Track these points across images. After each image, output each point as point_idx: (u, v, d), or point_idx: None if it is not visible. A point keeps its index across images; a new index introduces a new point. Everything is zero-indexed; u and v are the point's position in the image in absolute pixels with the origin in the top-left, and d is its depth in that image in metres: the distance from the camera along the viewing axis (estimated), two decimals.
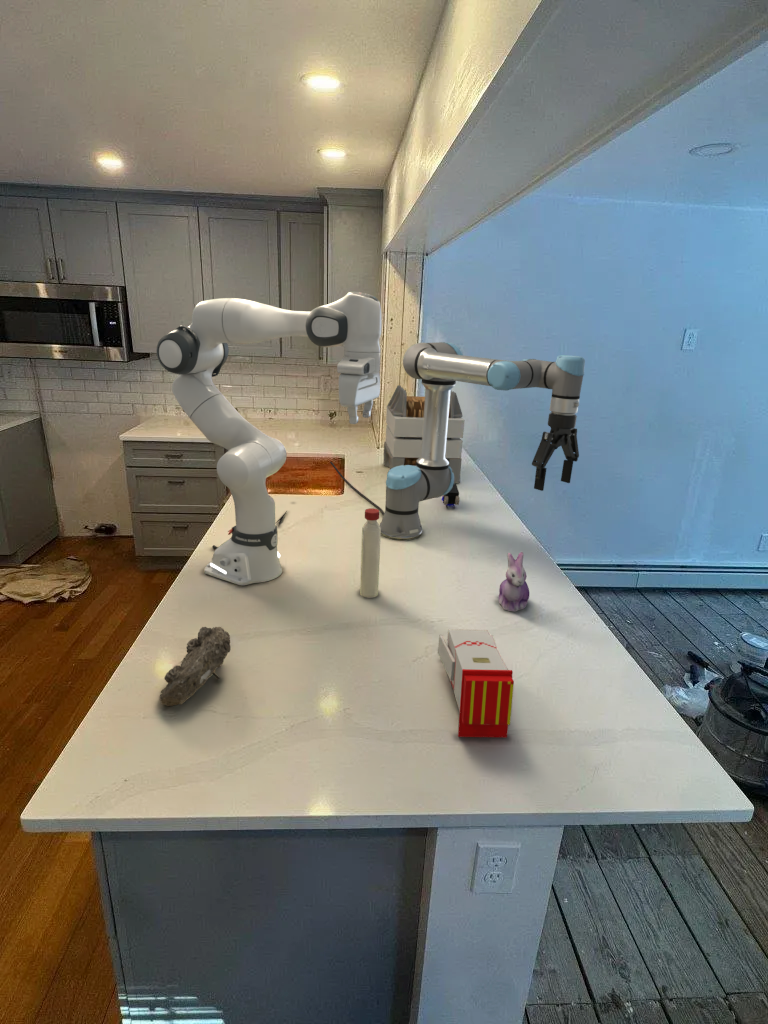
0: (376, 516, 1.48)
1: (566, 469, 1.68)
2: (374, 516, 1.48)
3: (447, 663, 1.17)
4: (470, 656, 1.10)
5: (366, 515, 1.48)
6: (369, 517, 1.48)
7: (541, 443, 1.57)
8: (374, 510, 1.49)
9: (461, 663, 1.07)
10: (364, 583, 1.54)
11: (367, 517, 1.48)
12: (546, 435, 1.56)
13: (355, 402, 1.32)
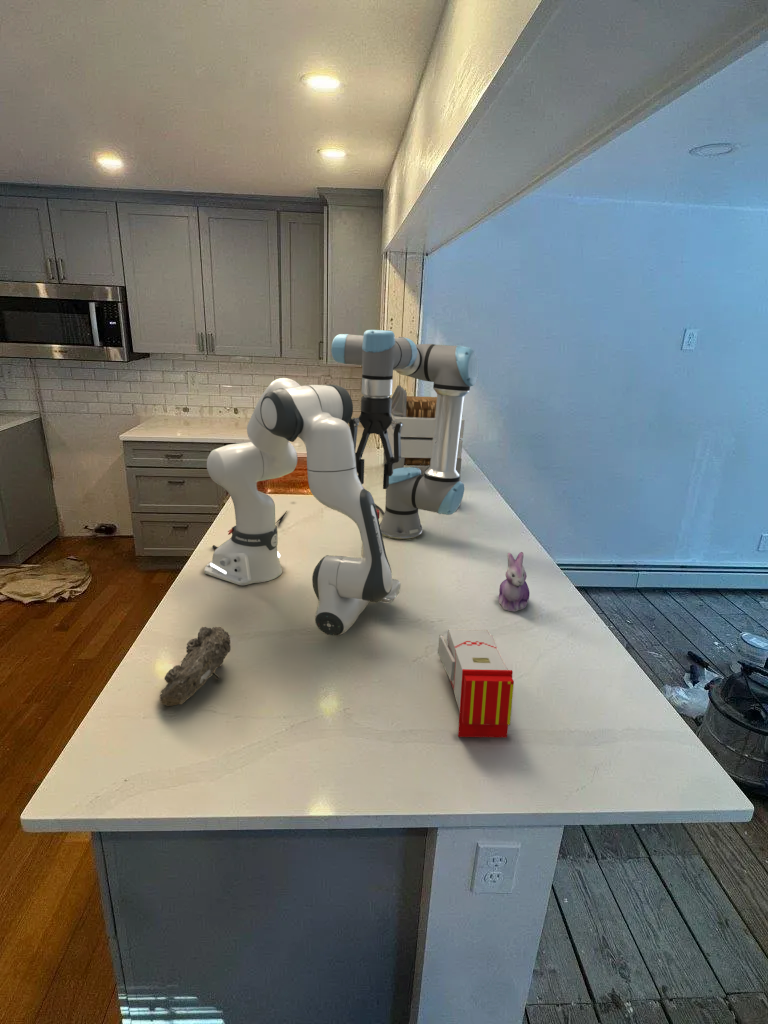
0: None
1: (362, 470, 1.46)
2: None
3: (447, 663, 1.17)
4: (470, 656, 1.10)
5: None
6: None
7: (398, 437, 1.40)
8: None
9: (461, 663, 1.07)
10: None
11: None
12: (401, 427, 1.40)
13: None
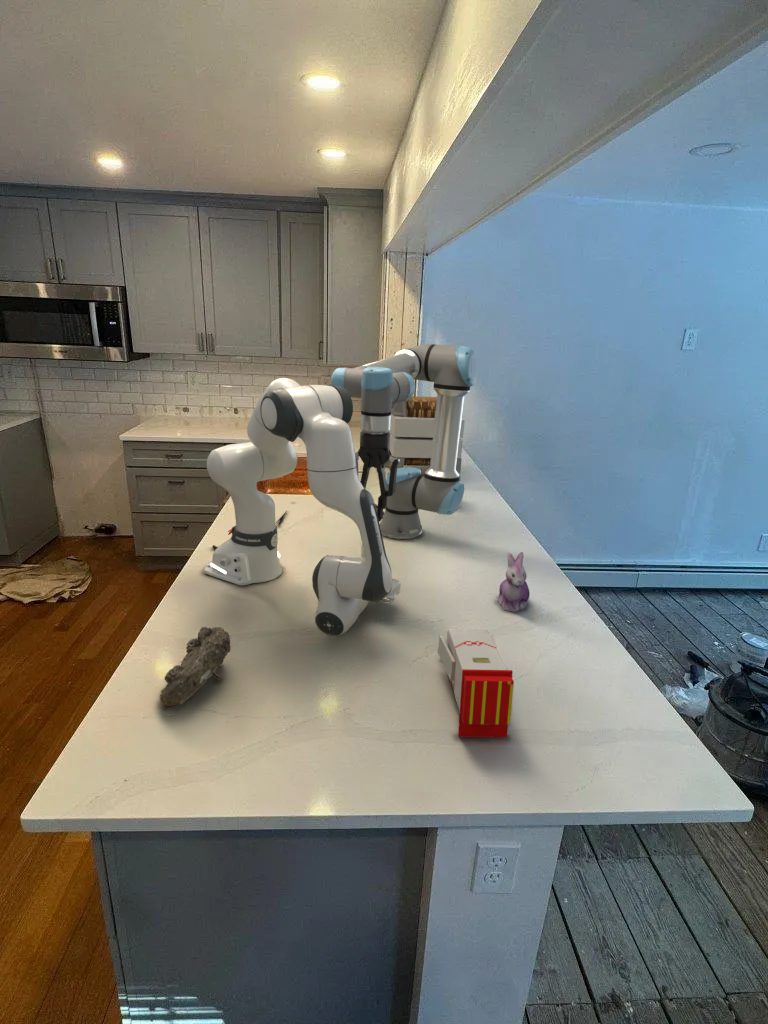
0: None
1: None
2: None
3: (447, 663, 1.17)
4: (470, 656, 1.10)
5: None
6: None
7: (395, 472, 1.43)
8: None
9: (461, 663, 1.07)
10: None
11: None
12: (398, 462, 1.43)
13: None
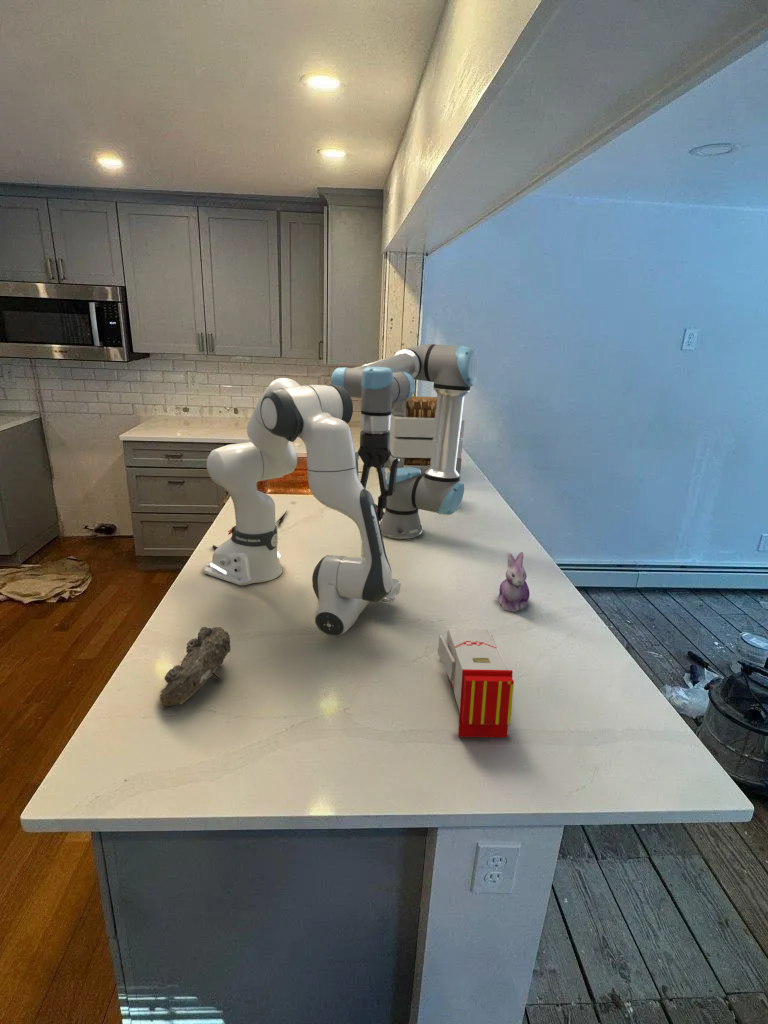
0: None
1: None
2: None
3: (447, 663, 1.17)
4: (470, 656, 1.10)
5: None
6: None
7: (395, 471, 1.43)
8: None
9: (461, 663, 1.07)
10: None
11: None
12: (398, 462, 1.43)
13: None
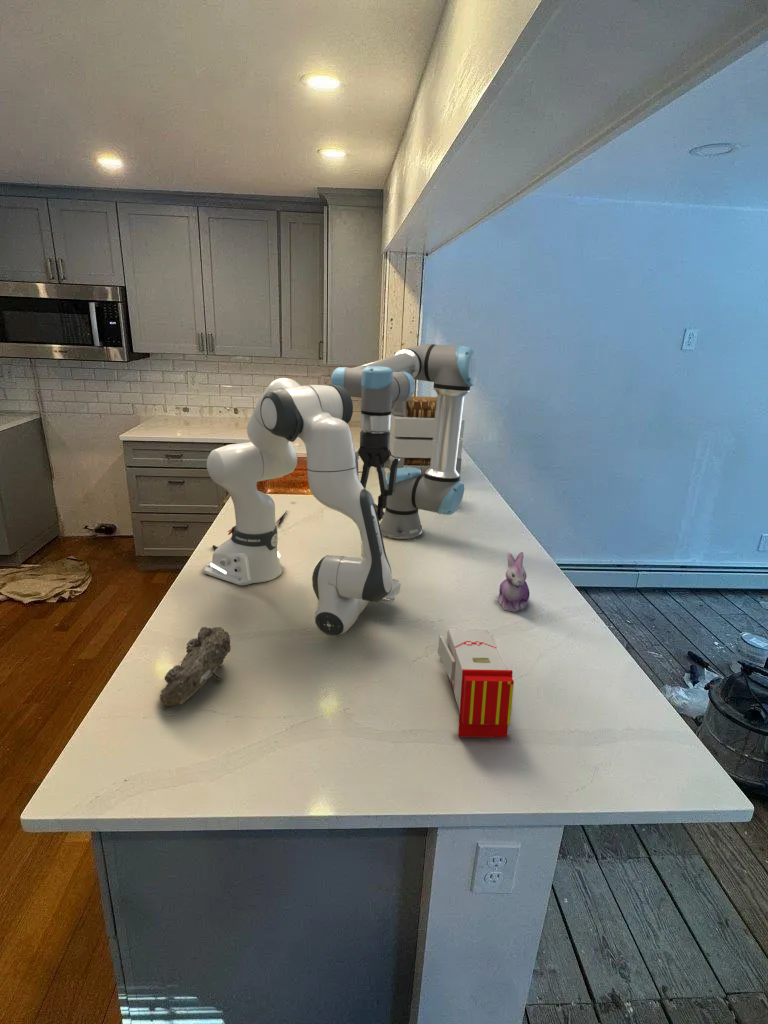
0: None
1: None
2: None
3: (447, 663, 1.17)
4: (470, 656, 1.10)
5: None
6: None
7: (395, 471, 1.43)
8: None
9: (461, 663, 1.07)
10: None
11: None
12: (398, 462, 1.43)
13: None
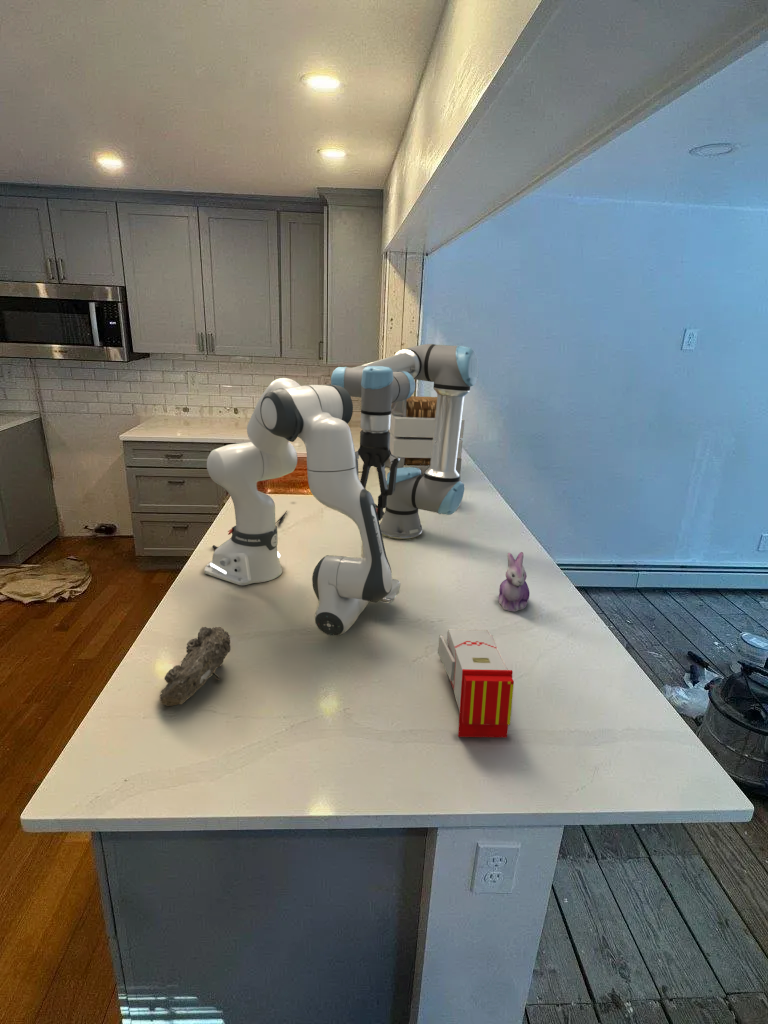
0: None
1: None
2: None
3: (447, 663, 1.17)
4: (470, 656, 1.10)
5: None
6: None
7: (395, 471, 1.43)
8: None
9: (461, 663, 1.07)
10: None
11: None
12: (398, 461, 1.43)
13: None
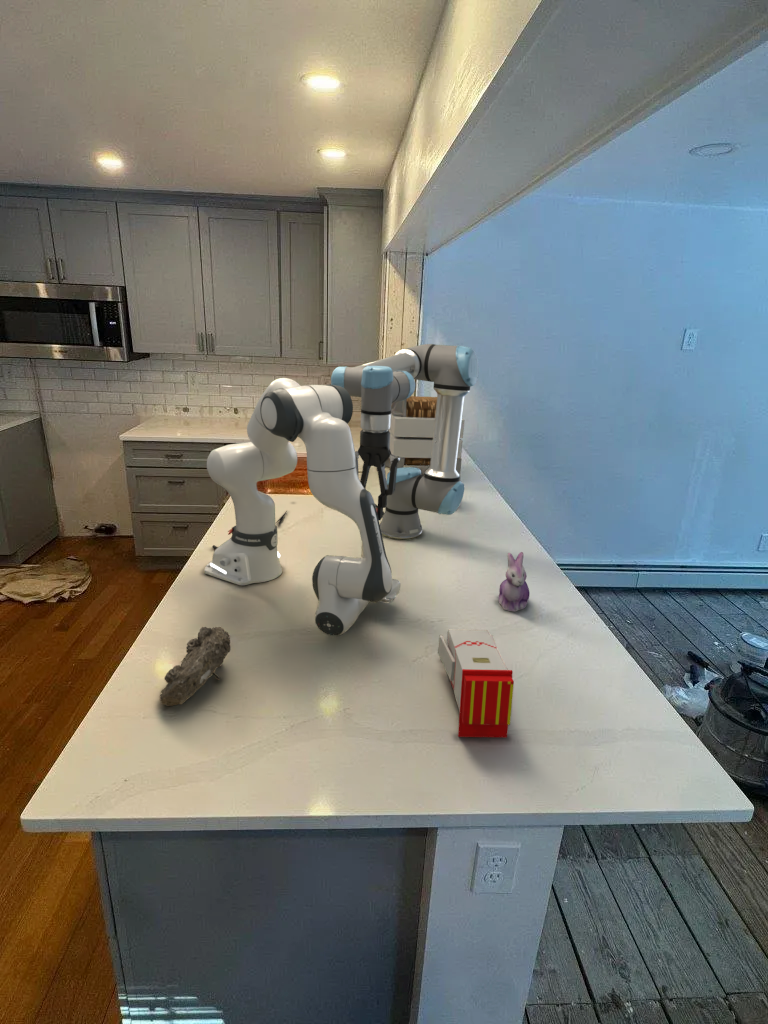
0: None
1: None
2: None
3: (447, 663, 1.17)
4: (470, 656, 1.10)
5: None
6: None
7: (395, 471, 1.43)
8: None
9: (461, 663, 1.07)
10: None
11: None
12: (398, 461, 1.43)
13: None
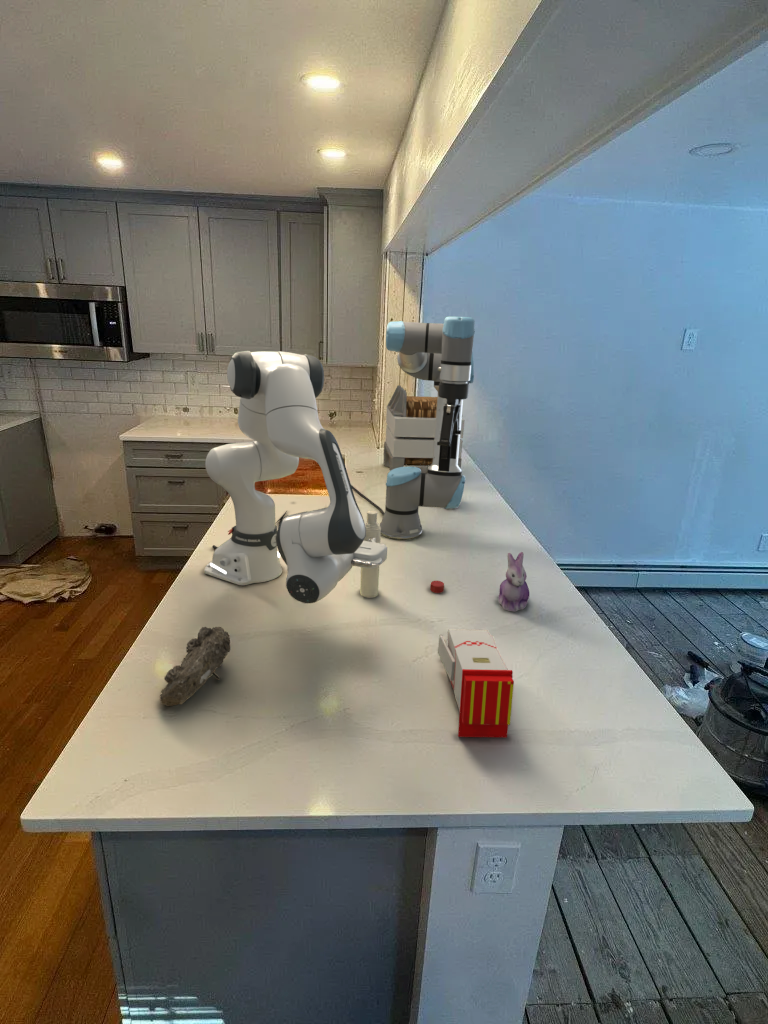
0: None
1: None
2: None
3: (447, 663, 1.17)
4: (470, 656, 1.10)
5: None
6: None
7: None
8: (435, 584, 1.60)
9: (461, 663, 1.07)
10: (364, 583, 1.54)
11: None
12: None
13: None
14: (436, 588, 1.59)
